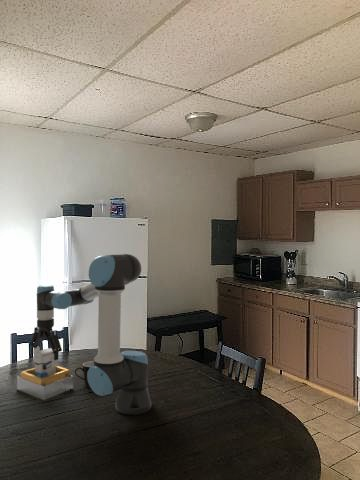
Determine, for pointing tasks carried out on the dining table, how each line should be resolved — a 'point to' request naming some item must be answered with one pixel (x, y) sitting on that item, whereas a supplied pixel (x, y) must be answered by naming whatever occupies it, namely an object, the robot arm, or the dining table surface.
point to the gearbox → (45, 383)
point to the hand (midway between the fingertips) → (45, 363)
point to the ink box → (44, 363)
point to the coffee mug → (85, 371)
